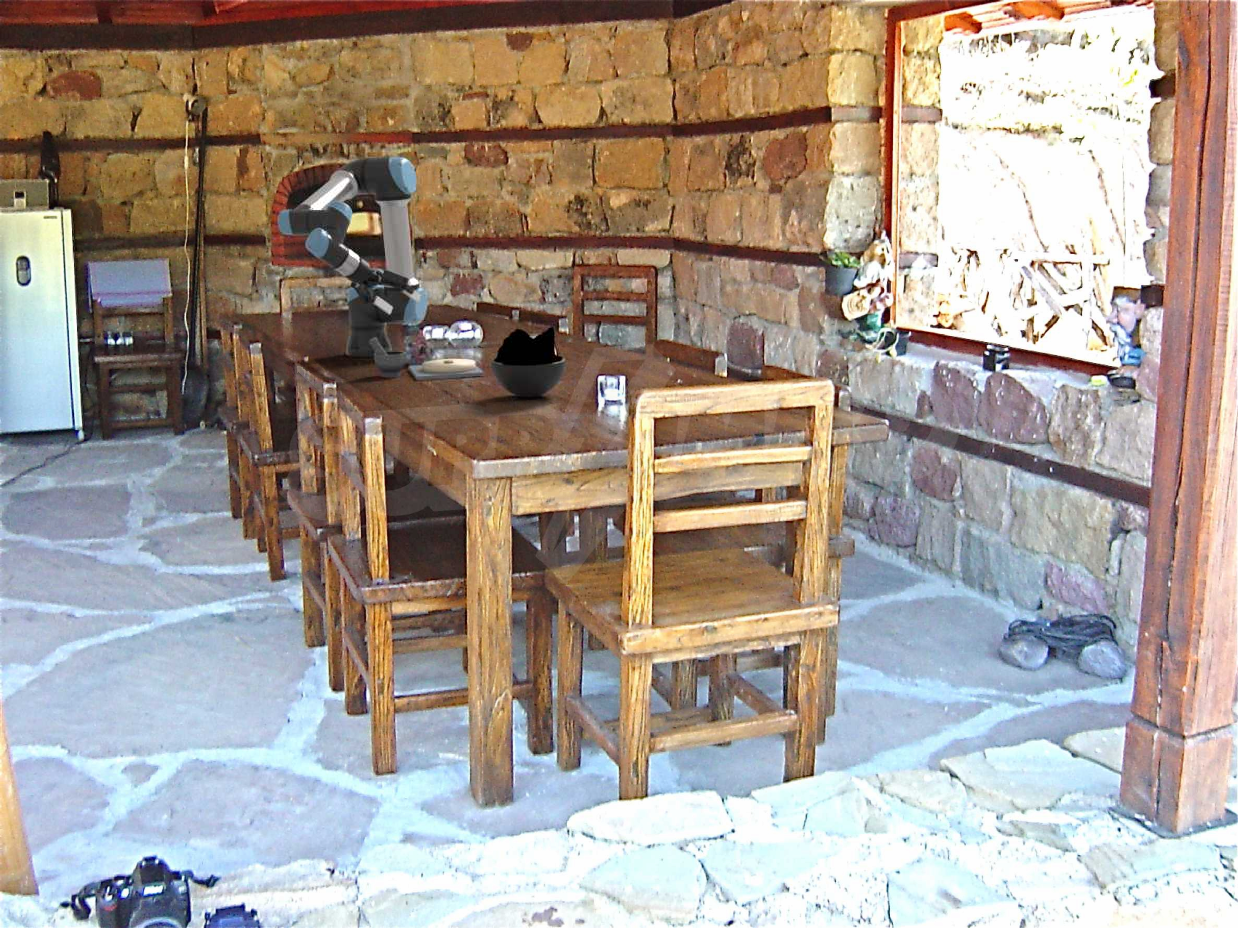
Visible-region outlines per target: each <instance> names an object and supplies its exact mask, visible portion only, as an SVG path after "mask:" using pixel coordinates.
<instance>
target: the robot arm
mask: <svg viewBox="0 0 1238 928" xmlns="http://www.w3.org/2000/svg"><path fill="white" fill-rule="evenodd" d="M417 185H418V179H417V173H416V171H415V168H414V166H413V164H412V162H411V161H410V160H409V159H408V158H405V157H402V156H401V157H399V156H384V157H383V156H382V157H380V156H379V157H362V158H357V159H355V160H352V161H350V162H348V163H347V164H345V165H343V166H341V167H339V168H338V169H337V170H335V171H334V172H333V173H332V174H331V176H330V179H329V180H328V181H327V182H326V183H324V185H323V186H322V187H320V188H319V189H317V190H316V191H315V192H314V193H313V194H311V195H310V196H309V197H308V198H307V199H305V200H304V201H303V202H301V204H299V205H298V206H297V207H295V208H294V209H289V208H287V209H284V210H281V211H280V212H279V214H278V216H277V225H278V229H279V231H280V232H281V233H282V234H283V235H287V236H308V237H307V238H306V239H305V248H306V249H307V250H308V252H310V253H311V254H312V255H313V256H315V258H317V259H319V260H321V261H322V262H323V263H325V264H326V265H328V267H330V268H332V269H334V270H335V271H336V272H338V273H339V274H341V275H342V276H343V277H345V278H346V279H347V280H348V281H350V287H351V288H350V289H349V290H348V292H347V305H348V306H347V307H348V318H349V320H348V321H349V336H348V339H347V342H346V343H347V344H346V347H345V353H346V356H348V357H353V358H354V357H355V358H370V357H372V358H374V353H375V351H374V349H373V347H372V345H370V344H369V341H370V340H371V339H372V338H375V337H376V338H377V339H378V342H379V343H380V345H381V346H382V348H383V349H384V350H385V351H393V349H392V345H391V342H390V339H389V337H388V334H387V332H386V324H397V325H398V324H402V325H403V324H404V325H409V324H410V325H411V324H418V323H420V322H421V321H422V320H423V319H424V317H425V315H426V313H427V310H428V294H427V291H426V289H424V288H423V287H420V281H419V280H418V279H417V278H416V277H415V275H414V274H415V273H414V263H413V254H412V253H413V251H412V242H411V233H410V232H411V231H410V221H409V211H408V205H409V204H408V203H409V202H410V201H411V200H412V194H414V193H415V192H416V190H417ZM361 195H362V196H363V195H374V202H376V203H377V204H378V205H379V206H380V213H381V222H382V223H381V224H382V225H381V226H382V235H383V244H384V253H385V265H386V269H385V268H384V267H382V266H377V268H376V270H375V269H373V268H371V265H370V263H369V262H368V261H366V260H365V259H363V258H362V257H360V256H359V255H358V254H357V253H355V252H354V251H353V250H352V249H350V248H349V247H347V246H346V245H345V244H344V240H345V237H346V235H347V232H348V230H349V227H350V225H351V220H352V217H353V211H352V208H351V206H349V205H348V203H345V201H346V200H351V199H353V198H354V197H356V196H361Z"/></svg>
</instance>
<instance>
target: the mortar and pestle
mask: <svg viewBox="0 0 1238 928" xmlns="http://www.w3.org/2000/svg"><path fill="white" fill-rule="evenodd" d="M369 344H370V345H372V347H373V349H374V351H375V353H374V357H373V358H374V362H375V363H374V364H375V365H376V367H377V368H378V370H379V371H381V373H380V377H381V378H396V377H398V378H399V377H401V376H402V369H404V367H405V364H407V361H406V356H407V355H406V351H404V350H403V351H402V350H392V351H385V350H384V349H383V348H382V346H381V345H380V343H379V342H378V339H377V338H376V337H375V338H372V339H371V340H370V341H369Z"/></svg>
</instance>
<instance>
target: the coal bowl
mask: <svg viewBox="0 0 1238 928" xmlns="http://www.w3.org/2000/svg"><path fill="white" fill-rule="evenodd" d="M509 333H510V334H508V336H507V337H505V338H504V339H503V342H502V345H501V346H500V347H499V348H498V349H497V354H496V358H494V359H493V360H491V362H490V363H491V369H492V372H493V375H494V377H495V379H496V381H497V382H498V383H499V385H500V386H501V387H502V388H503V389H505V390H506V391H507V392H508V393H510V394H513V395H515V396H517V397H520V398H521V397H522V398H536V396H537V397H540V396H543V395H544V394H546V393H547V394H548V393H549V392H551V390H553V389H554V388H555V387H556V386H557V385H558V383H559V382H560V380H561V378H562V377H563V375H564V372H565V368H566V358H564V357H563V356H560V355H557V354H556V349H555V348H556V347H555V337H556V336H555V335H556V334H555V328H554V327H553V326H550V327H548V328H547V330H545V331H542V332H541V333H538V334H537V335H535V336H534V338H533V337H532V336H531V335H530V334H529V333H528V332H526V330H524V329H521V328H516V329H515V330H514V331H512V332H509Z"/></svg>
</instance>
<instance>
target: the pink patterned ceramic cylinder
mask: <svg viewBox="0 0 1238 928" xmlns="http://www.w3.org/2000/svg"><path fill="white" fill-rule="evenodd" d="M416 336H417V337H416V340H415V342H413V341H412V337H411V336H409V335H408V336H405V339H404V341H403V343H404V344H405V345H406V347H405V352H406V363H408V364H409V366H415V365H422V363H424V362H427V361H432V360H438V355H437V353H436V350H435V347H434V346H431V347H430V351H429V343H428V341H427V339H426V337H425V335H424V332H423V331H422V330H420V329H419V331H418V334H417V335H416Z"/></svg>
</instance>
